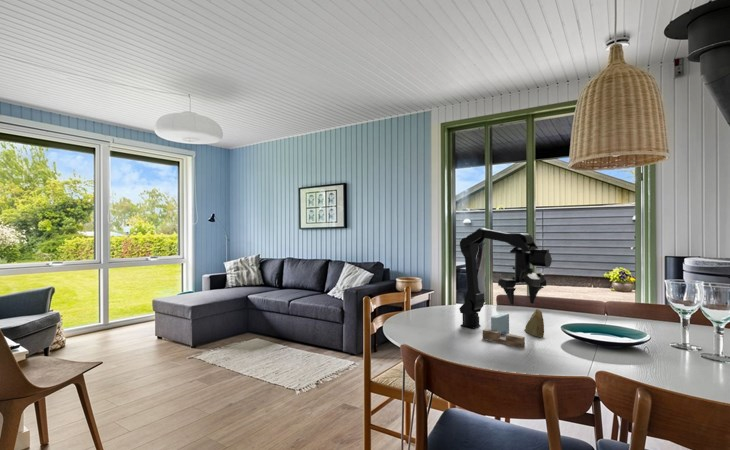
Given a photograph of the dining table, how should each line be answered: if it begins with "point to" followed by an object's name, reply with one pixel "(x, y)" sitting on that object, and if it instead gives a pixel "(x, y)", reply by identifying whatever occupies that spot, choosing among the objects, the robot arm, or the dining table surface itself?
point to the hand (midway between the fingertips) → (522, 303)
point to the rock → (535, 324)
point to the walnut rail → (509, 340)
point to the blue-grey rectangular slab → (500, 323)
